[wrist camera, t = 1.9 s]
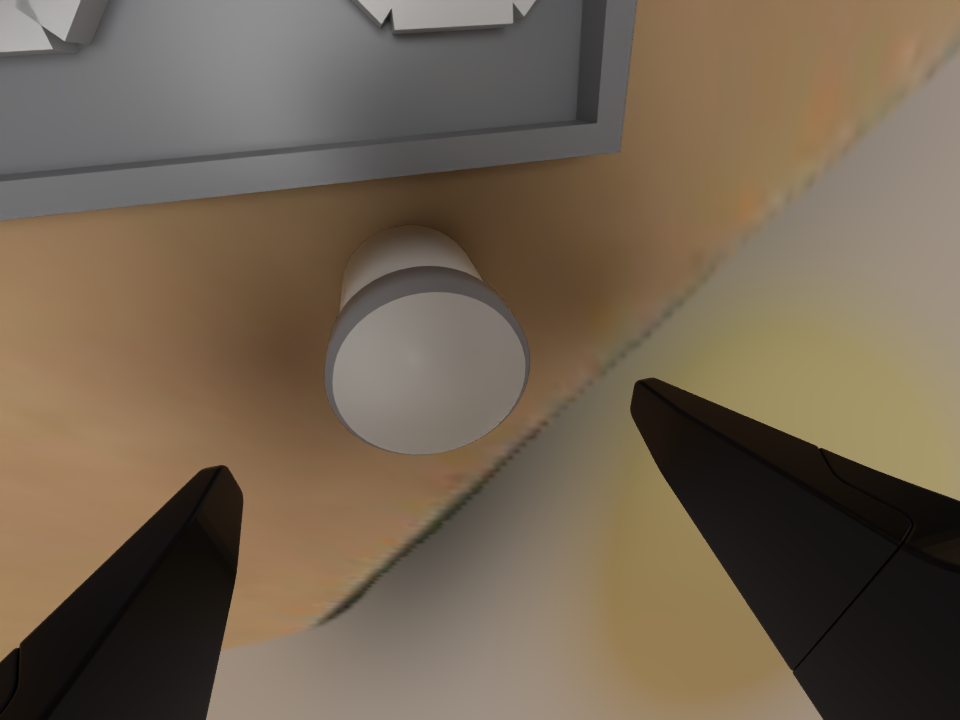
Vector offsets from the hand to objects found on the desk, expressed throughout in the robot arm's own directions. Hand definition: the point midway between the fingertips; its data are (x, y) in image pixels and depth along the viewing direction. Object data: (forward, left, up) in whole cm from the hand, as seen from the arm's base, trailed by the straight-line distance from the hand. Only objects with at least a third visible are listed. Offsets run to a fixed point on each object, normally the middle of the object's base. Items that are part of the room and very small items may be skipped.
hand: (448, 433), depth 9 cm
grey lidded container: (0, 0, -8) cm, 8 cm away
